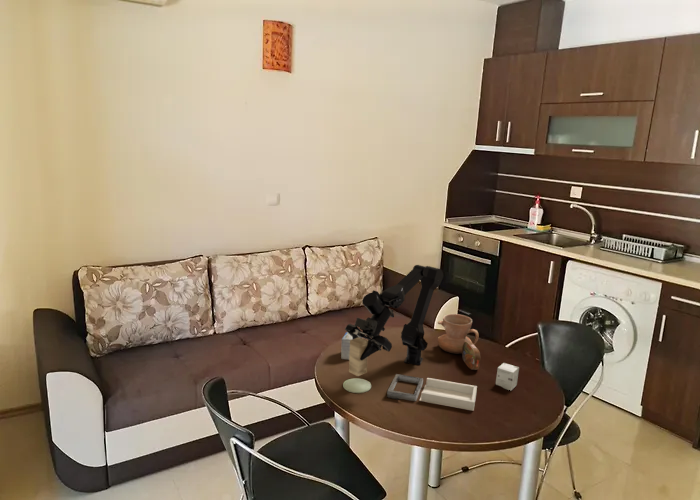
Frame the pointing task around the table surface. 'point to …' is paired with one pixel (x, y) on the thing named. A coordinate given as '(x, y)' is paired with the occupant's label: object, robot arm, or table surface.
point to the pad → (357, 385)
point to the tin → (471, 355)
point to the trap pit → (403, 395)
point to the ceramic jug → (456, 332)
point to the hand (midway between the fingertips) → (355, 357)
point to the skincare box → (507, 376)
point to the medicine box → (346, 346)
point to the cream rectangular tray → (449, 394)
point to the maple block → (357, 356)
